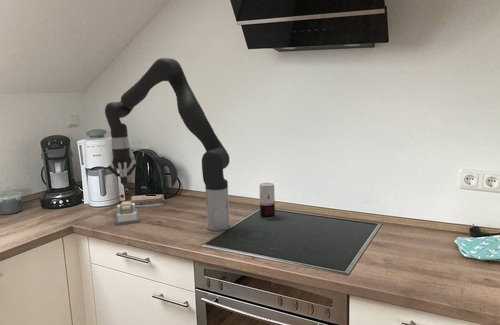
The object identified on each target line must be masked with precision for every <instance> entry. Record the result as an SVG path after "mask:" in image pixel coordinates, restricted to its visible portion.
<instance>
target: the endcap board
mask: <svg viewBox="0 0 500 325" xmlns="http://www.w3.org/2000/svg"><path fill="white" fill-rule="evenodd" d="M116 208H117V210H115V226H120V225H121V226H122V225H128V224H136V223H140V216H139V212H138V211H139V210H138V208H136V207H135V203H131V204H130V209H131V213H130V214H122V204H117V205H116Z"/></svg>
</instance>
